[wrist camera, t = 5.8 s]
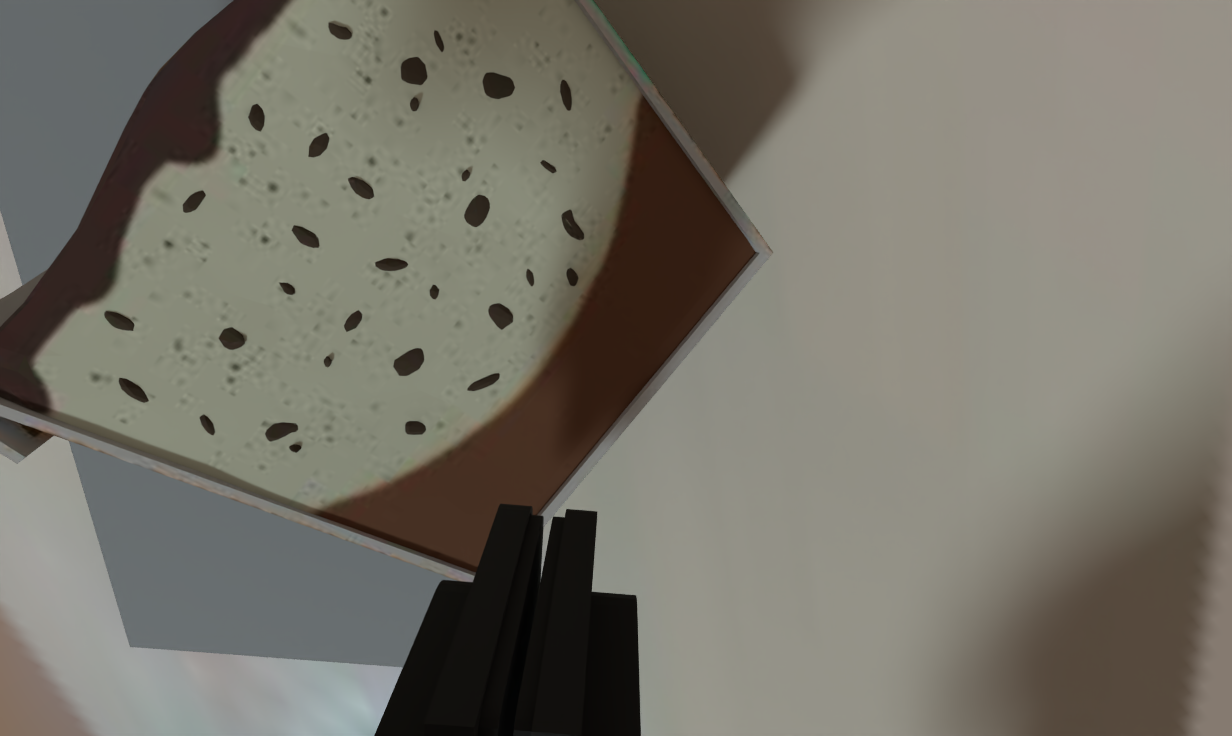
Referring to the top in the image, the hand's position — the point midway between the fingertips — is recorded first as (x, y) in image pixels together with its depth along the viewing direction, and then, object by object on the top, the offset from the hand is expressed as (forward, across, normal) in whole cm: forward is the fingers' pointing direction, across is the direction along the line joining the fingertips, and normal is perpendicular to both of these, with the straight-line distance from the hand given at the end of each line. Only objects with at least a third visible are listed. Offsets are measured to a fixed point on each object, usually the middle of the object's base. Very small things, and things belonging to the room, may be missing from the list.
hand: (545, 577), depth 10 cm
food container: (+6, 0, -1) cm, 6 cm away
